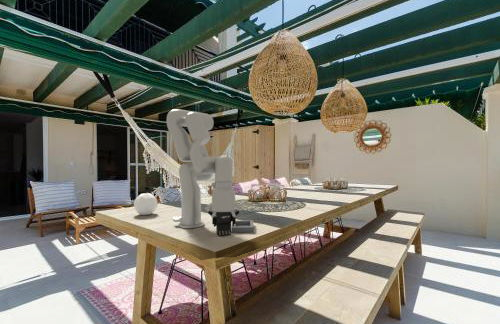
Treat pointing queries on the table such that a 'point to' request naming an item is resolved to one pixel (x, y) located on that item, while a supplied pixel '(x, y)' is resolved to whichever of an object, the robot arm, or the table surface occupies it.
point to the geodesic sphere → (145, 204)
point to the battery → (223, 223)
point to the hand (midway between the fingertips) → (224, 225)
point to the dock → (243, 226)
